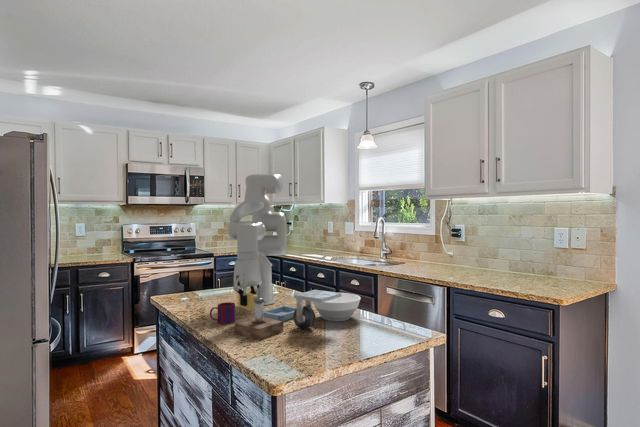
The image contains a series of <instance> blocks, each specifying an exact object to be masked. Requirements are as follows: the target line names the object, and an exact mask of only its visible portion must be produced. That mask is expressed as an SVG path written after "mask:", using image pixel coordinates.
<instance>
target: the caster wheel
mask: <svg viewBox="0 0 640 427" xmlns="http://www.w3.org/2000/svg"><path fill="white" fill-rule="evenodd" d="M341 293H342V292H335V291H328V290H327V291H326V290H322V289H321V290H319V289H312V290H308V291H304V292H300V293H297V294H294V296H293V298H294V299H296V302H295V303H296V306H295V307H296V310H295V311H294V315H293V319H292V320H293V322H294V324H295V327H297V328H298V329H300V330H303V331H304V330H307V329H310V328H312V327H314V325H315V323H316V313H315V311H314V309H313V301H315V302H321V303H322V302H325V301H328V300H332V299H335V298H338V297H341ZM304 301H305V305H304Z"/></svg>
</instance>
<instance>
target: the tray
mask: <svg viewBox="0 0 640 427" xmlns="http://www.w3.org/2000/svg"><path fill="white" fill-rule="evenodd" d="M295 310H296V306H289V305H285V304H284V305H280V306H277V307H274V308H273V307H272V308H270V309H267V310H263V317H265V318H270V319H274V320H279V321H283V323H284V322H286V321H289V320H294V319H293V315H294V311H295Z"/></svg>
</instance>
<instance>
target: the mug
mask: <svg viewBox="0 0 640 427" xmlns="http://www.w3.org/2000/svg"><path fill="white" fill-rule="evenodd" d="M215 309H216V310H217V318H214V317H213V314H212V313H213V310H215ZM209 317H210V318H211V319H212V320H213V321H215V322H217V323H218V324H221V325H229V324H233V323H234V324H235V323H236V303H235V302H228V301H227V302H220V303H218V304H217V306H216V307H211V308H210V310H209Z"/></svg>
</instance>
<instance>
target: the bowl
mask: <svg viewBox="0 0 640 427" xmlns="http://www.w3.org/2000/svg"><path fill="white" fill-rule="evenodd" d="M340 293H341V297H338V298H335V299H332V300H328V301H325V302H322V303H321V302H315V301H312V304H314V307H315V308H316V310H317V312H318V314H319V315H320V317H322V319H323V320H325V321H329V322H345V321H348V320H350V319H351V317H352V316H353V315H354V314H355V312H356V311H357V309H358V308H359V305H360V301H361V298H362V297H361V296H360V295H359V294H358V295H357V294H354V293H347V292H340Z"/></svg>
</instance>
